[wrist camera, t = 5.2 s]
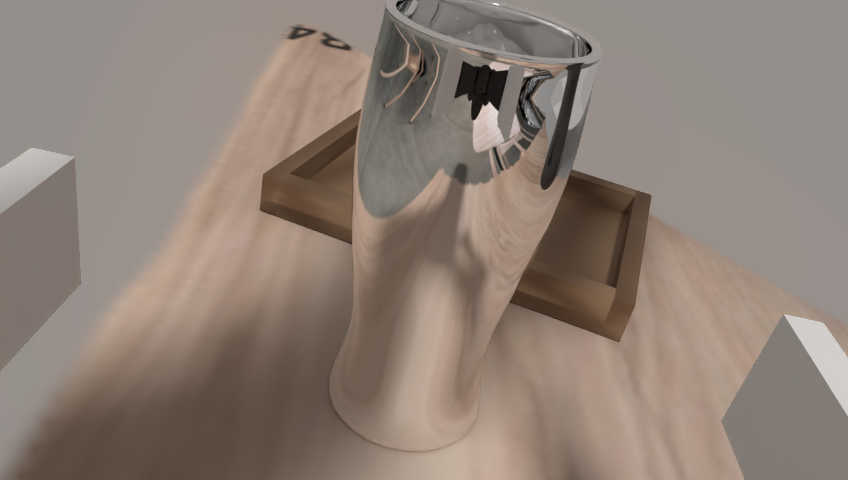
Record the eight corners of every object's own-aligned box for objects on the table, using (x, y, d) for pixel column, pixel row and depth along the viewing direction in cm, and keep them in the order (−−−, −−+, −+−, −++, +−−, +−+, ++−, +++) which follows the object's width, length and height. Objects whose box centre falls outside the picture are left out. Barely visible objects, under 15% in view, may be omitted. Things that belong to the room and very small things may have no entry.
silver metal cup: (431, 325, 32) (516, -5, 25) (521, 432, 28) (660, 65, 20) (290, 356, 29) (337, -20, 21) (365, 487, 24) (463, 62, 16)
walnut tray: (639, 224, 46) (651, 195, 45) (619, 341, 34) (634, 305, 33) (363, 133, 50) (368, 104, 49) (259, 210, 38) (262, 174, 37)
